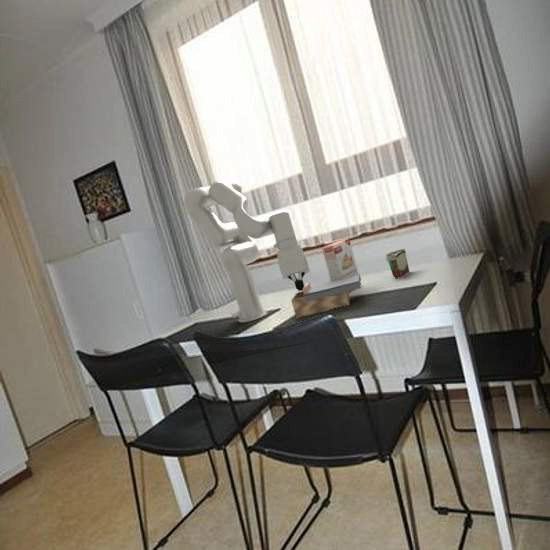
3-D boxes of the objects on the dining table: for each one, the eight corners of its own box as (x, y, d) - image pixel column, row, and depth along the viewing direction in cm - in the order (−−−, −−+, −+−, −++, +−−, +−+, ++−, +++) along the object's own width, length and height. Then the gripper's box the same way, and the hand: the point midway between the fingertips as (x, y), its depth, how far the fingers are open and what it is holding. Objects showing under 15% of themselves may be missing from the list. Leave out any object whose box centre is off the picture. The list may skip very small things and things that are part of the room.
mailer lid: (305, 301, 170) (301, 289, 170) (310, 293, 184) (306, 282, 184) (360, 287, 165) (357, 275, 165) (361, 280, 180) (358, 268, 179)
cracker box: (347, 295, 186) (333, 245, 183) (334, 297, 190) (320, 248, 187) (362, 285, 196) (349, 237, 194) (350, 287, 200) (337, 240, 198)
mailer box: (296, 317, 173) (291, 300, 172) (301, 309, 185) (296, 292, 184) (349, 305, 168) (343, 286, 167) (350, 297, 181) (345, 280, 180)
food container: (397, 273, 201) (391, 251, 199) (410, 271, 197) (404, 248, 196) (386, 281, 191) (380, 257, 190) (400, 278, 187) (394, 255, 186)
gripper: (266, 250, 173) (280, 297, 175) (305, 239, 170) (319, 287, 172) (270, 248, 180) (284, 293, 182) (307, 237, 177) (321, 283, 179)
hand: (301, 290), depth 177 cm, fingers closed
